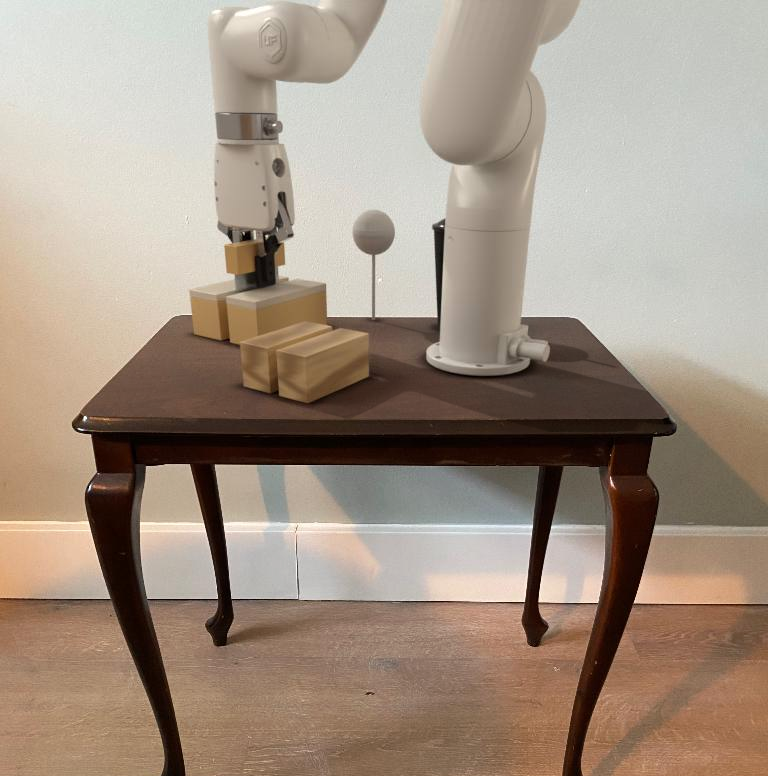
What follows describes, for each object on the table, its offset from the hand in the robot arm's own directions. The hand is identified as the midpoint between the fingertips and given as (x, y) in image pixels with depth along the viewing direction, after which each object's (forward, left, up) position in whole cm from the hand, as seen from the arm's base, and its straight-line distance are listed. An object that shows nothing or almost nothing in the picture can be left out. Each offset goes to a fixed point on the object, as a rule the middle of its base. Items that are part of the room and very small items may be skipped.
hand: (258, 283), depth 98 cm
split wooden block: (-19, +13, -6) cm, 24 cm away
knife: (0, 0, -6) cm, 6 cm away
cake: (0, 0, -6) cm, 6 cm away
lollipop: (-9, -14, -7) cm, 18 cm away
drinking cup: (-21, -17, -7) cm, 28 cm away
